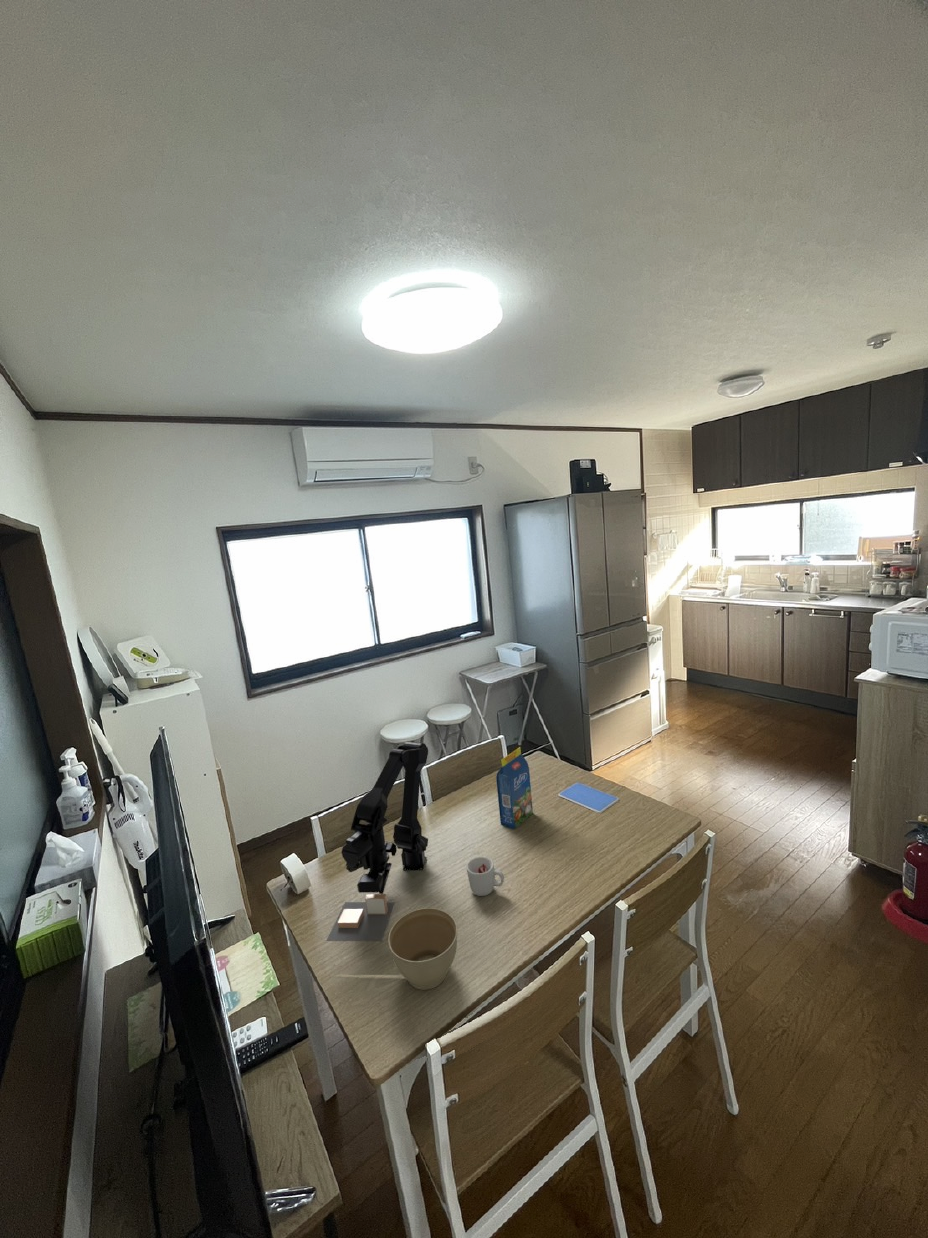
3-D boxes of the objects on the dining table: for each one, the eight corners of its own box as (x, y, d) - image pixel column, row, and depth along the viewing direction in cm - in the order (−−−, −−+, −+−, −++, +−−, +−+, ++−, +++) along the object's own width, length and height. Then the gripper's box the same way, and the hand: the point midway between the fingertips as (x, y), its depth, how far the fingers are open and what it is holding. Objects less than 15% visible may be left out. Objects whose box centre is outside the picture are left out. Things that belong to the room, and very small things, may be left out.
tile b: (363, 909, 140) (357, 922, 135) (363, 914, 140) (358, 928, 135) (344, 909, 140) (337, 922, 135) (345, 914, 141) (338, 928, 136)
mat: (395, 903, 144) (395, 902, 144) (381, 942, 130) (381, 940, 130) (345, 903, 146) (345, 902, 146) (326, 942, 132) (326, 940, 132)
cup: (508, 884, 147) (506, 859, 146) (501, 903, 139) (499, 877, 138) (473, 879, 150) (471, 855, 149) (465, 897, 143) (462, 872, 142)
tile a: (388, 910, 141) (385, 894, 140) (386, 914, 139) (384, 898, 138) (369, 910, 141) (366, 894, 141) (367, 914, 140) (364, 898, 139)
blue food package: (533, 813, 183) (527, 748, 179) (515, 829, 174) (508, 761, 170) (518, 808, 187) (513, 745, 183) (500, 824, 178) (493, 758, 174)
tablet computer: (620, 800, 186) (619, 797, 186) (599, 815, 178) (599, 811, 178) (577, 784, 201) (577, 781, 200) (557, 797, 193) (557, 794, 193)
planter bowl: (405, 1016, 109) (399, 973, 107) (386, 962, 124) (380, 923, 122) (472, 984, 115) (468, 942, 113) (446, 936, 130) (442, 899, 128)
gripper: (358, 825, 153) (365, 872, 155) (335, 864, 134) (343, 917, 137) (393, 824, 151) (400, 871, 153) (375, 864, 133) (382, 917, 135)
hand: (381, 893), depth 145 cm, fingers closed
